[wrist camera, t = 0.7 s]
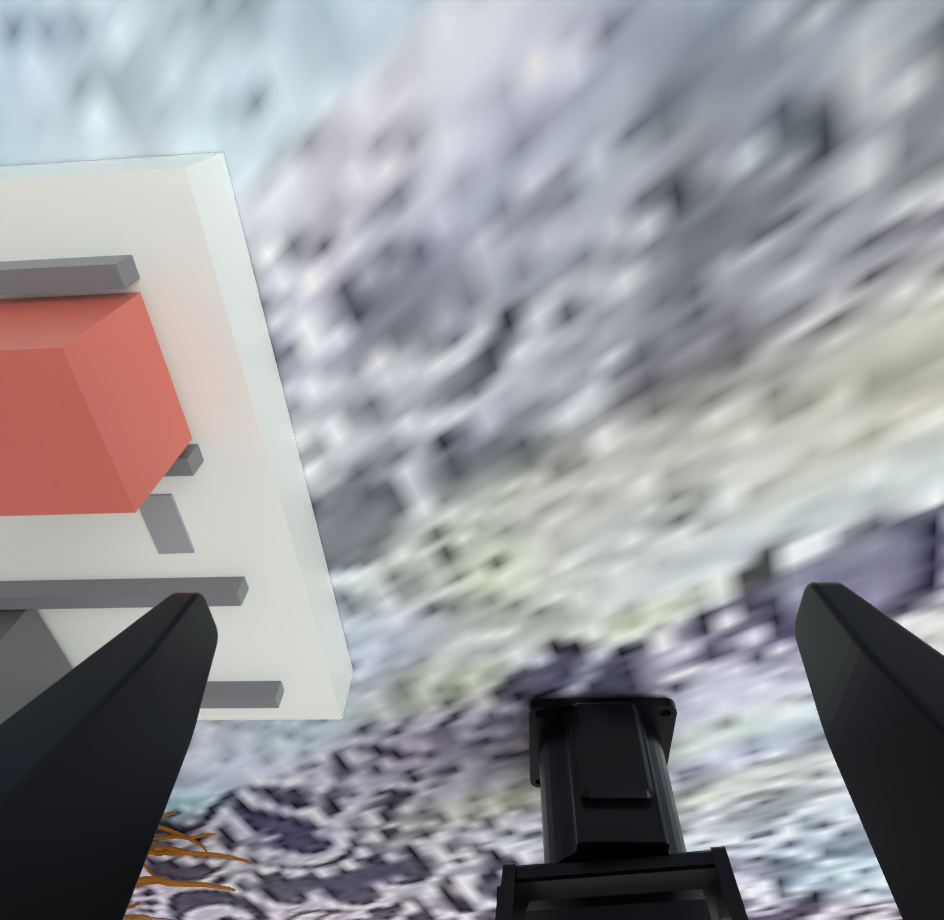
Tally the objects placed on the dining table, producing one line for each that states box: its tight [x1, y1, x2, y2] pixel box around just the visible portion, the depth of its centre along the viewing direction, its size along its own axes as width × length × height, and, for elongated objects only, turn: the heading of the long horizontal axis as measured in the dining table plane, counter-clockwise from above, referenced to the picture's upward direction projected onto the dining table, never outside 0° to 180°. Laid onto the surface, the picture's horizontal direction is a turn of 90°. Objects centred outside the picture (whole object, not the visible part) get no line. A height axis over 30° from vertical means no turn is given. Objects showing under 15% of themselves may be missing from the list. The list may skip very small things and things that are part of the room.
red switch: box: [0, 292, 192, 516], centre depth 16 cm, size 4×4×4 cm
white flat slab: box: [0, 152, 353, 720], centre depth 20 cm, size 26×16×3 cm, turn 3°
